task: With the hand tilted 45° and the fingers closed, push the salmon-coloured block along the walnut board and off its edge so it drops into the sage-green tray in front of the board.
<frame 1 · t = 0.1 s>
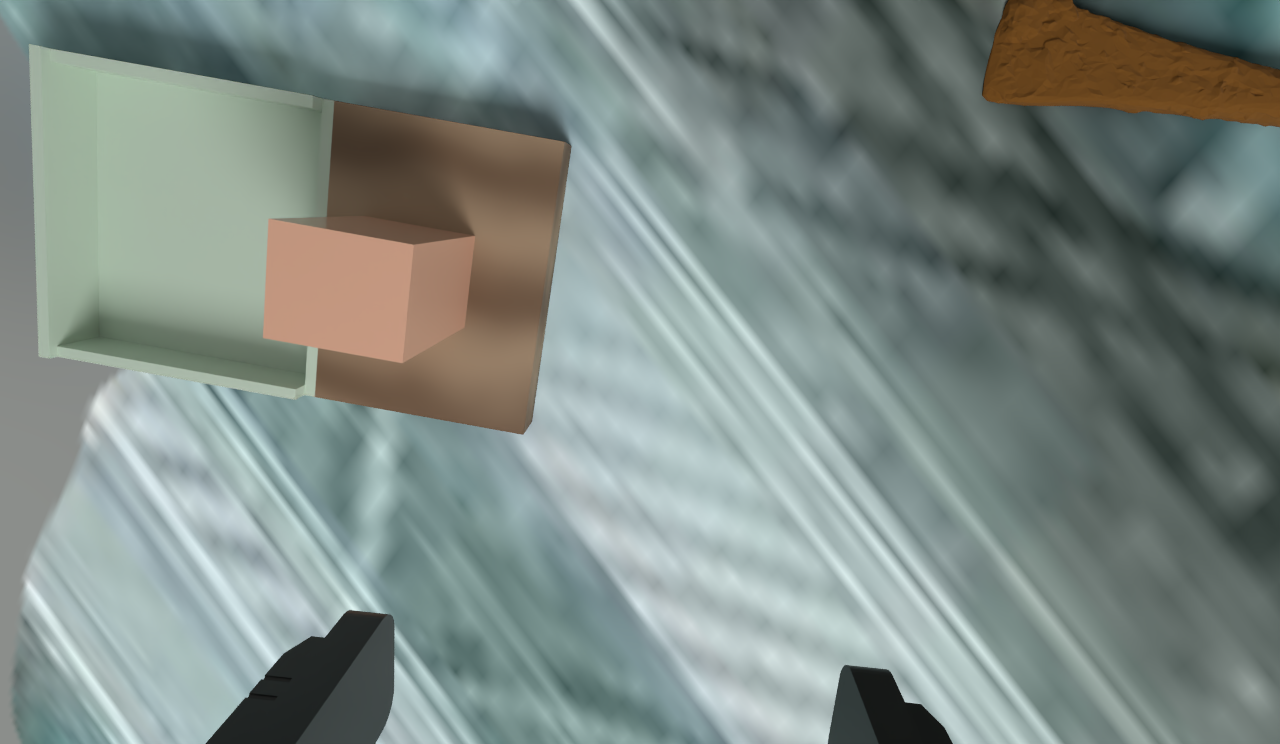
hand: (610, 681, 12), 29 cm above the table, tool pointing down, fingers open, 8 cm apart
salmon-coloured block: (415, 272, 38), point 2 cm above the table, touching board
board: (447, 271, 40), on the table
tray: (220, 230, 40), on the table
primitive tool: (1157, 90, 37), on the table
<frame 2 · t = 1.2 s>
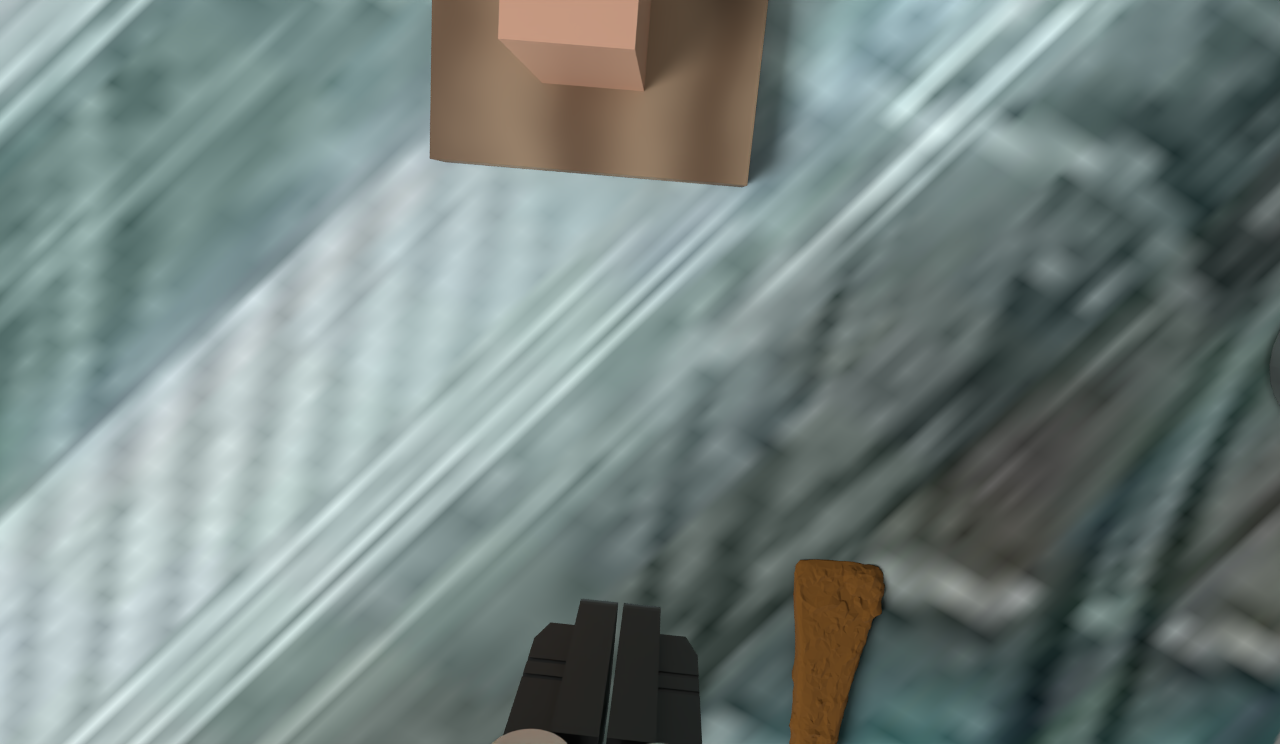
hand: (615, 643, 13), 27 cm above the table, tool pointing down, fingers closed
salmon-coloured block: (597, 20, 33), point 2 cm above the table, touching board
board: (600, 54, 36), on the table
primitive tool: (809, 686, 45), on the table
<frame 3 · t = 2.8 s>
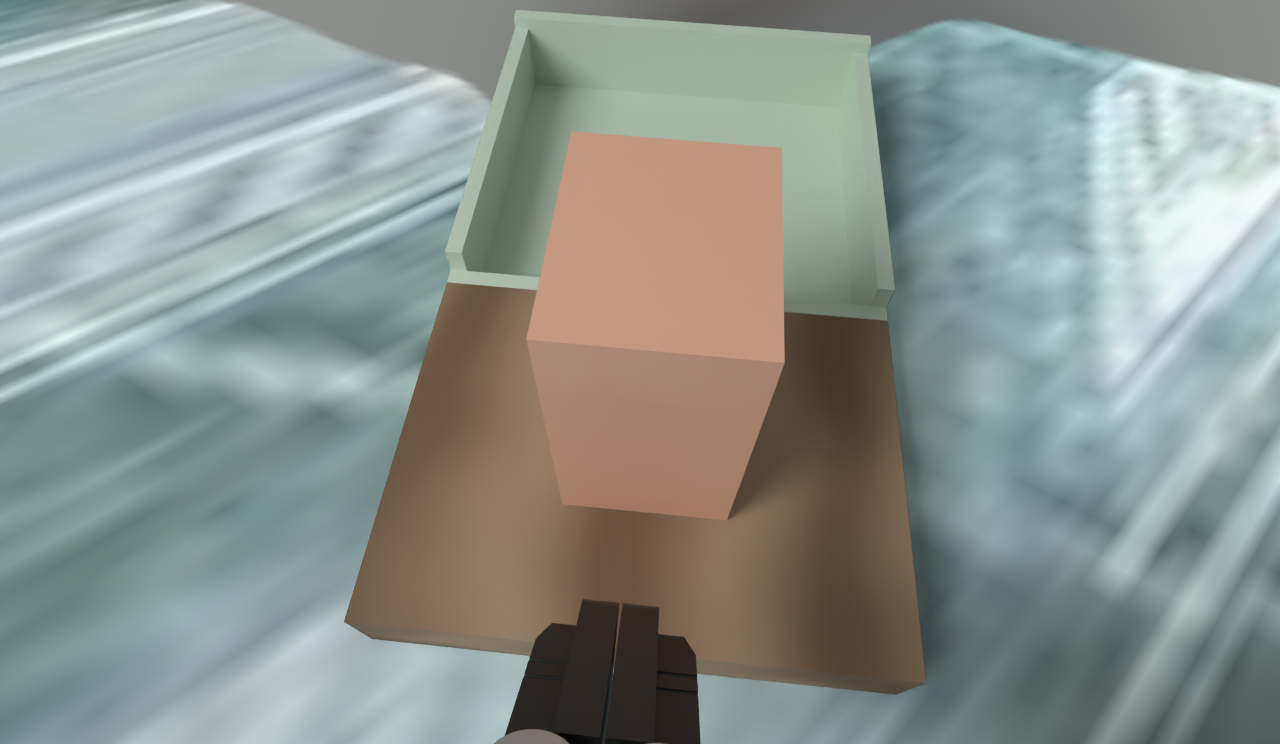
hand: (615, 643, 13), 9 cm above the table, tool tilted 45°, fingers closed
salmon-coloured block: (652, 424, 23), point 2 cm above the table, touching board
board: (648, 482, 24), on the table
tray: (674, 204, 31), on the table
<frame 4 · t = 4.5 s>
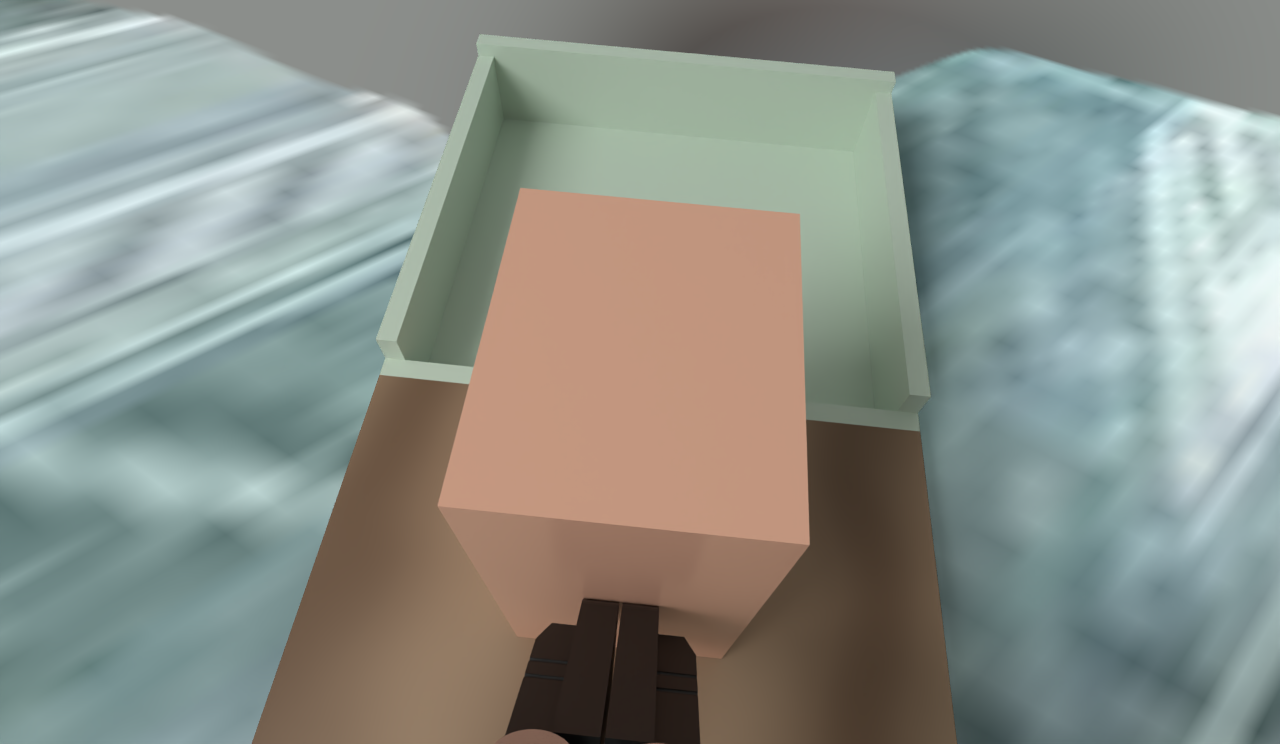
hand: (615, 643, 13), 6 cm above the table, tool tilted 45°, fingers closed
salmon-coloured block: (631, 528, 19), point 3 cm above the table
board: (622, 632, 20), on the table
tray: (663, 266, 27), on the table
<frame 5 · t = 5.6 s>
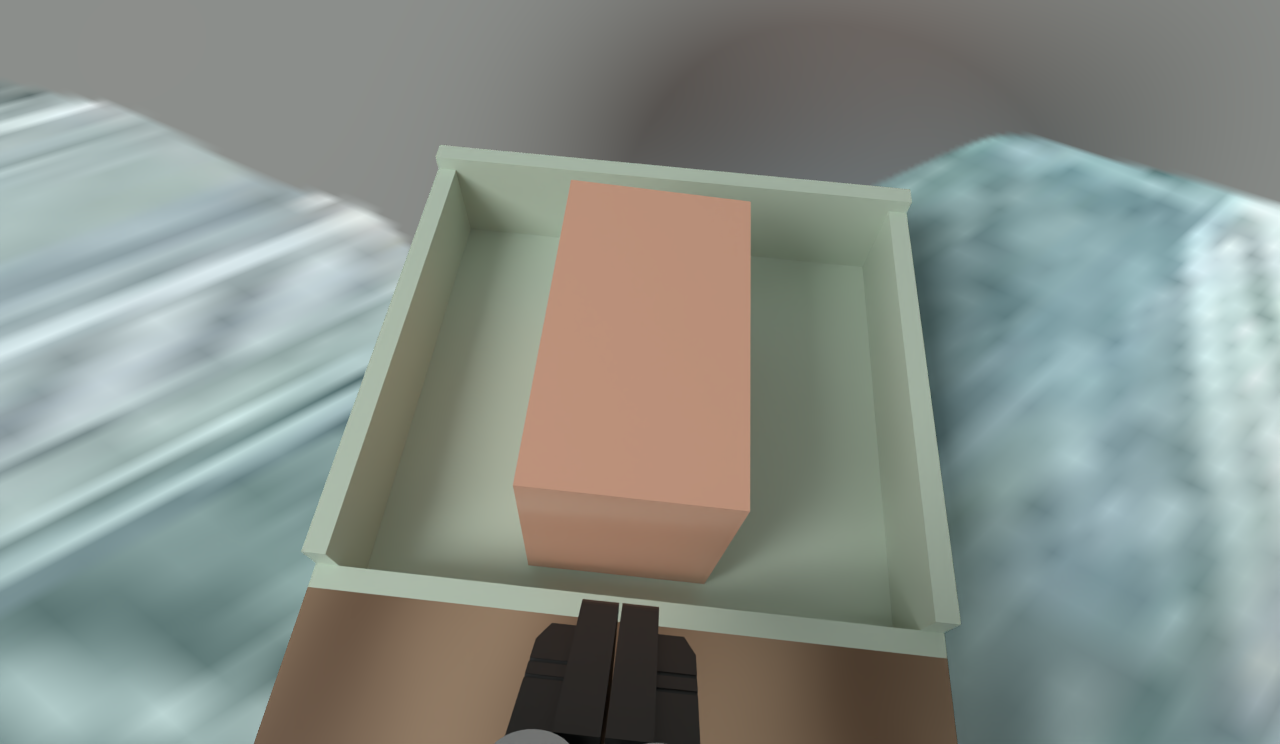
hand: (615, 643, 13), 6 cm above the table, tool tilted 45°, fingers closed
salmon-coloured block: (623, 542, 17), point 4 cm above the table, tilted 90°, touching tray
tray: (647, 411, 23), on the table
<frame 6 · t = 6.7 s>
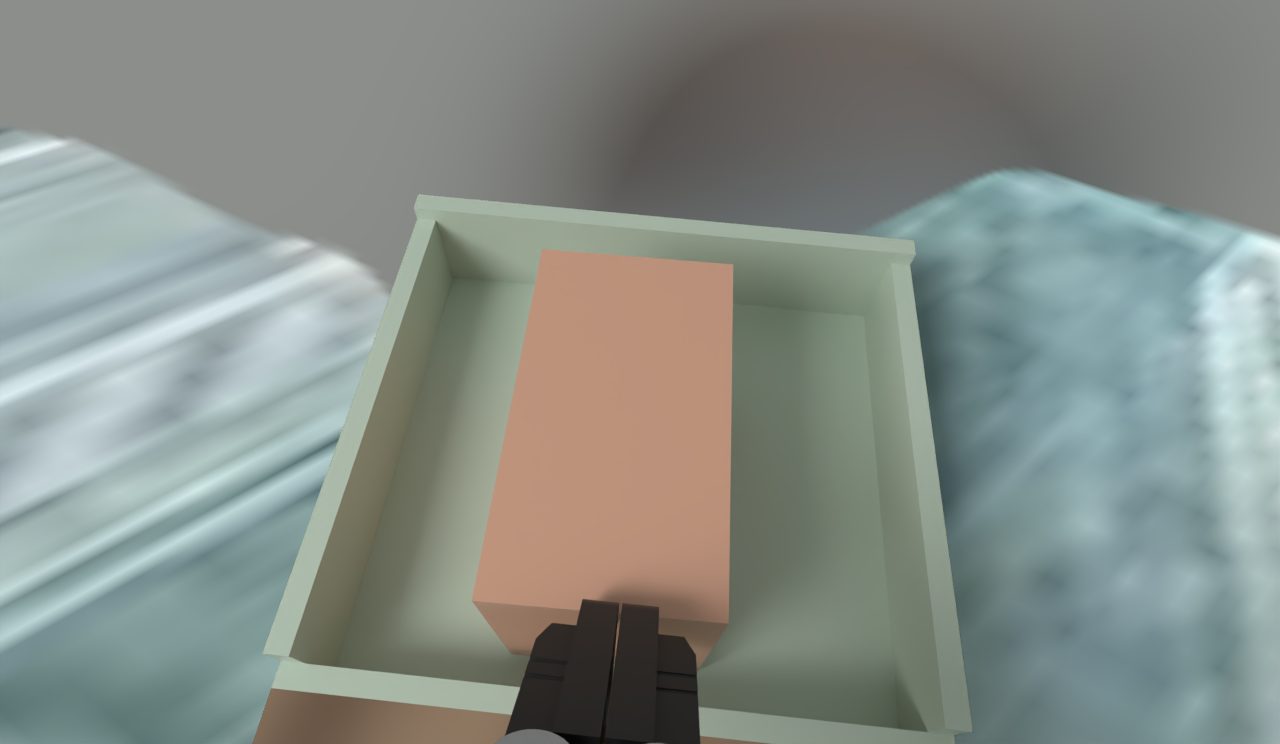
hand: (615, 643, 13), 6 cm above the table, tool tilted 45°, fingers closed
salmon-coloured block: (602, 641, 16), point 4 cm above the table, tilted 90°, touching tray
tray: (638, 476, 22), on the table
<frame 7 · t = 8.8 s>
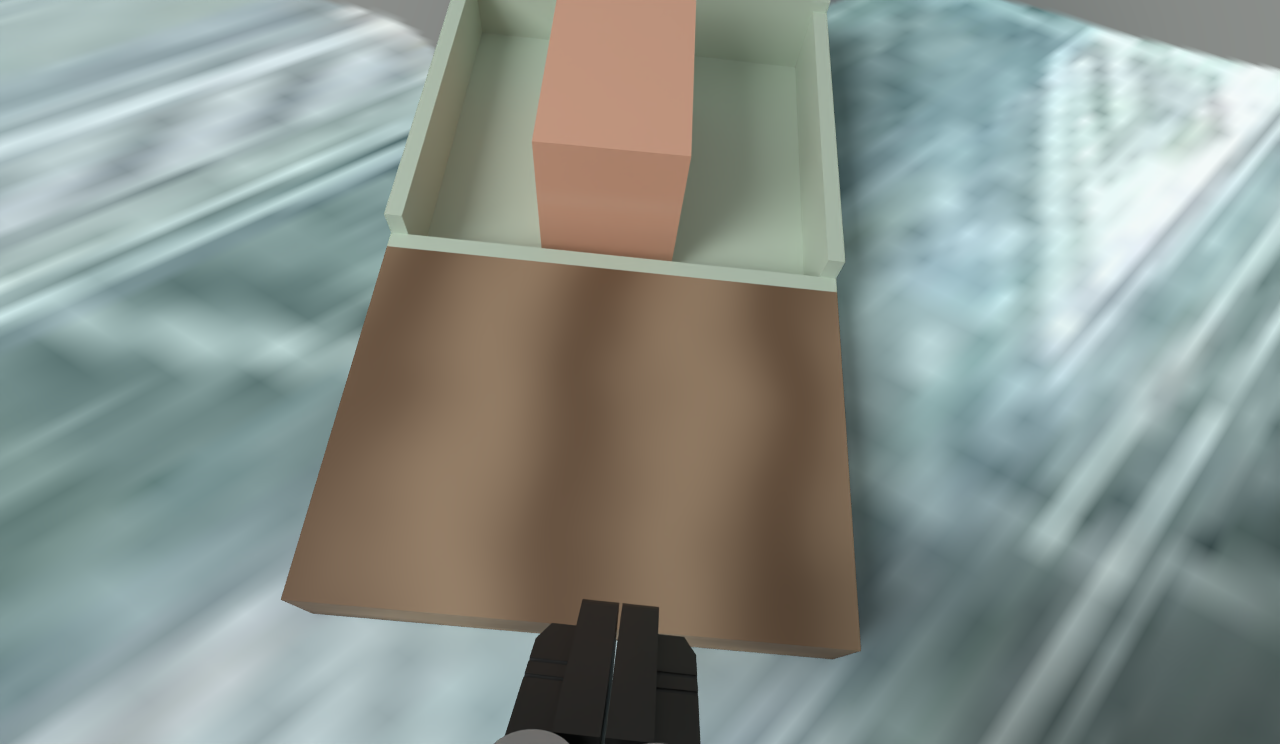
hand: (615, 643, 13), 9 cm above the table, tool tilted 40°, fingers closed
salmon-coloured block: (608, 212, 25), point 4 cm above the table, tilted 90°, touching tray
board: (595, 453, 24), on the table
tray: (627, 165, 30), on the table
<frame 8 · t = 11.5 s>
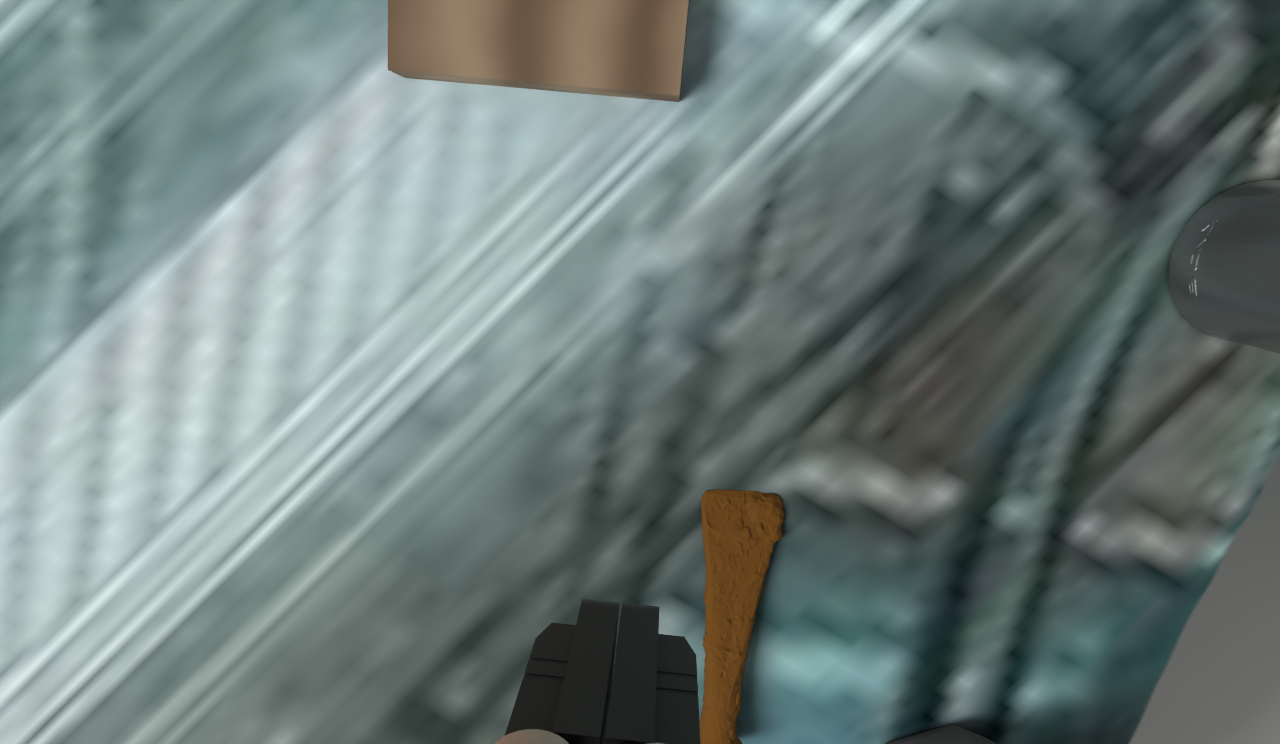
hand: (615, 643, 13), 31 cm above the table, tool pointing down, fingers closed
primitive tool: (723, 610, 49), on the table
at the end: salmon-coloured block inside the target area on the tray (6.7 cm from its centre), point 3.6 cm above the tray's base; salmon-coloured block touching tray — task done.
